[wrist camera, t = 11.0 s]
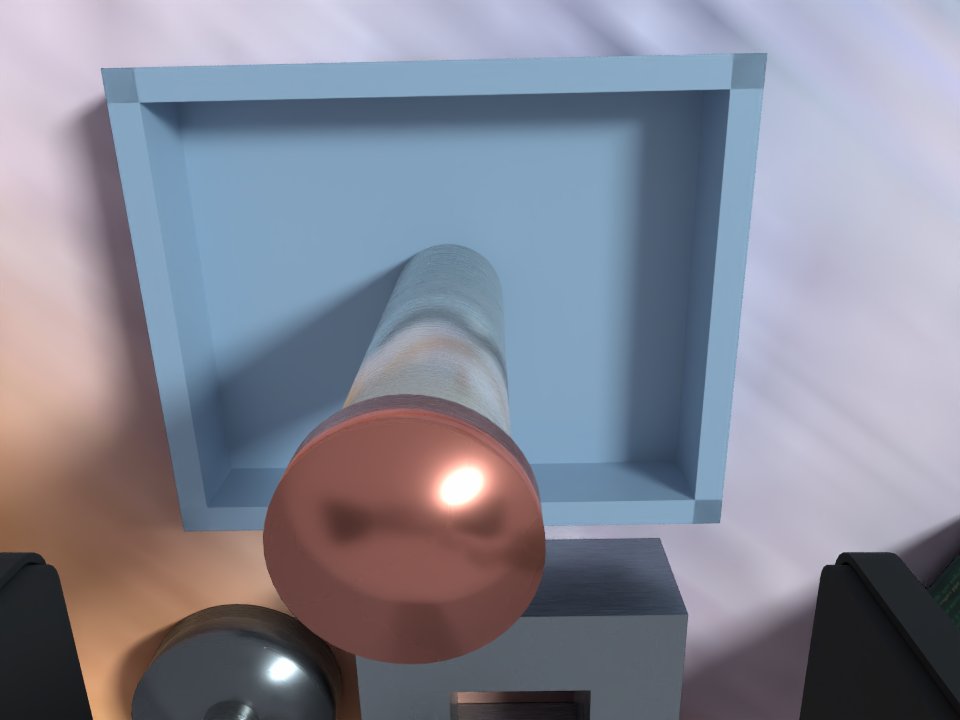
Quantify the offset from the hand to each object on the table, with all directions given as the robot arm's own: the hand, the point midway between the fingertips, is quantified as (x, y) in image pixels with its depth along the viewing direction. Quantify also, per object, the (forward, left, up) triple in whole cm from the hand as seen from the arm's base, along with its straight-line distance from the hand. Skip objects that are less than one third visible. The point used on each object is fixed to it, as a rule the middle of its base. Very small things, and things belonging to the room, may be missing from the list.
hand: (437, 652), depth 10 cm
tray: (+1, 0, -15) cm, 15 cm away
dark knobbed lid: (+9, +15, -15) cm, 23 cm away
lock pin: (0, 0, -15) cm, 15 cm away
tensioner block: (-1, +14, -15) cm, 21 cm away
